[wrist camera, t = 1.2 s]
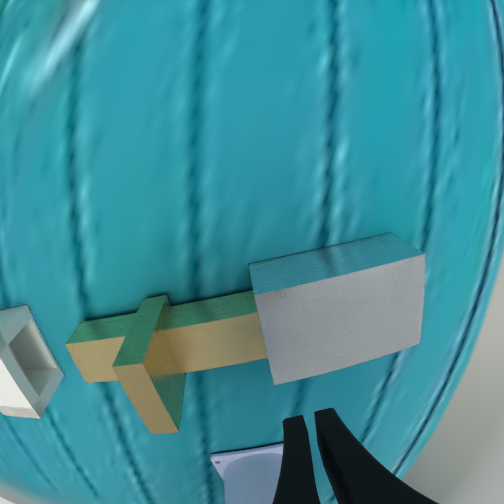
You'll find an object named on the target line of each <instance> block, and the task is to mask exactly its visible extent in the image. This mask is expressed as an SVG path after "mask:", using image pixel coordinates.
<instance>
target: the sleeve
mask: <svg viewBox="0 0 504 504" xmlns="http://www.w3.org/2000/svg"><path fill="white" fill-rule="evenodd" d="M248 265H249V270H250V275H251V281H252V286H253V292H254V297H255V301H256V306H257V310H258V315H259V319H260V324H261V328H262V333H263V337H264V342H265V346H266V351H267V355H268V360H269V364H270V369H271V373H272V378H273V382H274V385H277V384H282V383H286V382H291V381H295V380H300V379H304V378H308V377H312V376H316V375H320V374H324V373H327V372H331V371H335V370H339V369H342V368H346V367H349V366H353V365H356V364H359V363H363V362H366V361H369V360H372V359H375V358H379V357H382V356H385V355H388V354H391V353H394V352H397V351H400V350H402V349H405V348H408V347H411V346H414V345H416V344H419V343H420V337H421V327H422V316H423V303H424V286H425V253H423V252H422V251H420V250H418V249H417V248H415V247H414V246H412V245H410V244H409V243H407V242H406V241H404V240H402V239H401V238H399V237H397V236H396V235H394V234H392V233H387V234H383V235H379V236H374V237H370V238H365V239H361V240H356V241H352V242H347V243H343V244H338V245H333V246H329V247H324V248H320V249H315V250H311V251H306V252H301V253H297V254H292V255H288V256H283V257H278V258H274V259H269V260H264V261H260V262H255V263H250V264H248Z"/></svg>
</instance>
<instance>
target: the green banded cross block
mask: <svg viewBox="0 0 504 504" xmlns="http://www.w3.org/2000/svg"><path fill="white" fill-rule="evenodd" d="M65 345H66V347H67V349H68V351H69V353H70V355H71V357H72V358H73V360H74V362H75V364H76V366H77V367H78V369H79V371H80V373H81V374H82V376H83V378H84V380H85V381H86V383H88V382H104V381H116V380H119V381H120V383H121V385H122V387H123V388H124V390H125V392H126V394H127V395H128V397H129V399H130V400H131V402H132V404H133V406H134V407H135V409H136V411H137V412H138V414H139V415H140V417H141V419H142V420H143V422H144V423H145V425H146V427H147V428H148V430H149V431H150V433H151V434H162V433H176V432H179V428H180V420H181V412H182V404H183V396H184V388H185V381H186V374H187V372H193V371H200V370H206V369H212V368H218V367H224V366H229V365H235V364H240V363H246V362H251V361H256V360H261V359H266V358H268V355H267V351H266V346H265V342H264V337H263V333H262V328H261V324H260V319H259V315H258V310H257V306H256V301H255V297H254V292H253V290H251V291H247V292H242V293H237V294H232V295H227V296H222V297H217V298H212V299H207V300H202V301H197V302H192V303H187V304H182V305H176V306H170V304H169V301H168V298H167V295H163V296H157V297H152V298H147V299H143V301H142V303H141V305H140V307H139V309H138V311H137V313H133V314H127V315H121V316H115V317H109V318H103V319H97V320H91V321H85V322H80V323H79V325H78V326H77V328H76V329H75V331H74V332H73V333H72V335H71V336H70V338H69V339H68V341H67V342H66V344H65Z"/></svg>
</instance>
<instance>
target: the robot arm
mask: <svg viewBox="0 0 504 504" xmlns="http://www.w3.org/2000/svg"><path fill="white" fill-rule="evenodd" d="M314 414H315V423H316V433H317V442H318V447H319V450H320V454H321V458H322V462H323V466H324V468H325V471H326V474H327V476H328V479H329V481H330V484H331V486H332V489H333V491H334V494H335V496H336V499H337V501H338V504H438V503H436V502H434V501H432V500H431V499H429V498H427V497H425V496H424V495H422V494H421V493H419V492H417V491H416V490H414V489H413V488H411V487H410V486H408V485H407V484H405V483H404V482H402V481H401V480H400V479H399V478H397V477H396V476H395V475H393V474H392V473H391V472H390V471H388V470H387V469H386V468H385V467H384V466H383V465H382V464H381V463H379V462H378V461H377V460H376V459H375V458H374V457H373V456H372V455H371V454H370V453H369V452H368V451H367V450H366V449H365V448H364V447H363V446H362V445H361V443H360V442H359V441H358V440H357V439H356V438H355V437H354V436H353V434H352V433H351V432H350V431H349V429H348V428H347V427H346V426H345V424H344V423H343V422H342V420H341V419H340V417H339V416H338V414H337V413H336V411H335V409H333V408H328V409H324V410H320V411H316V412H314ZM283 429H284V443H282V444H277V445H271V446H266V447H260V448H254V449H248V450H242V451H235V452H227V453H219V454H213V455H211V461H212V463H213V465H214V466H215V468H216V470H217V471H218V473H219V475H220V476H221V478H222V480H223V481H224V492H225V504H320V500H319V497H318V493H317V489H316V484H315V478H314V471H313V464H312V457H311V450H310V443H309V437H308V431H307V428H306V424H305V421H304V418H303V415H300V416H295V417H291V418H286V419H285V420H283Z"/></svg>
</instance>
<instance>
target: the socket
mask: <svg viewBox="0 0 504 504" xmlns="http://www.w3.org/2000/svg"><path fill="white" fill-rule="evenodd" d="M63 377H64V374H63V373H62V371H61V369H60V368H59V366H58V364H57V362H56V361H55V359H54V357H53V355H52V353H51V351H50V350H49V348H48V346H47V344H46V342H45V340H44V338H43V336H42V334H41V332H40V330H39V328H38V326H37V324H36V322H35V320H34V318H33V316H32V314H31V311H30V309H29V307H28V305H23V306H18V307H13V308H8V309H3V310H0V411H1V413H2V414H3V415H8V416H17V417H27V418H40V419H41V417H42V415H43V413H44V411H45V409H46V407H47V405H48V403H49V402H50V400H51V398H52V396H53V394H54V392H55V391H56V389H57V387H58V385H59V384H60V382H61V380H62V378H63Z"/></svg>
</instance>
